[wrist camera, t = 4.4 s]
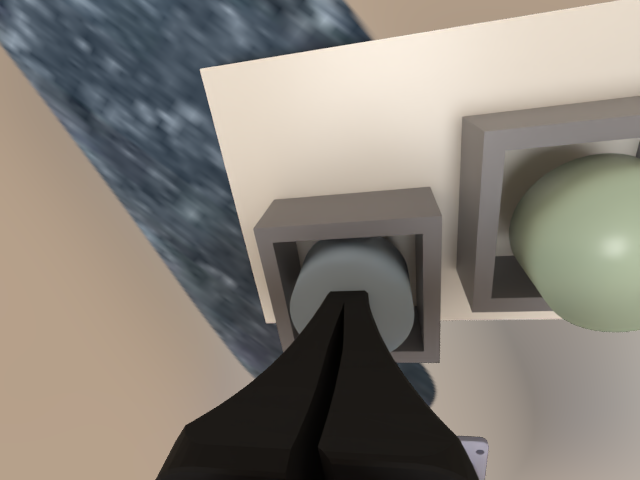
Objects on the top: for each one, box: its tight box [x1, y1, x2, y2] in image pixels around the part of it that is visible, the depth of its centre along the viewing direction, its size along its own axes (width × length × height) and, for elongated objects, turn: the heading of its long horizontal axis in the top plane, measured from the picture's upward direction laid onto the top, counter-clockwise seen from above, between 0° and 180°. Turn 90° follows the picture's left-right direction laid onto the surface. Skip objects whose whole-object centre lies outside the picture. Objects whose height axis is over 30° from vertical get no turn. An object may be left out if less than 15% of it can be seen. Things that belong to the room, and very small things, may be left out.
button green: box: [509, 153, 640, 332], centre depth 10 cm, size 4×4×2 cm
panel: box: [200, 0, 640, 363], centre depth 13 cm, size 12×25×5 cm, turn 98°
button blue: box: [290, 236, 414, 352], centre depth 13 cm, size 4×4×2 cm
